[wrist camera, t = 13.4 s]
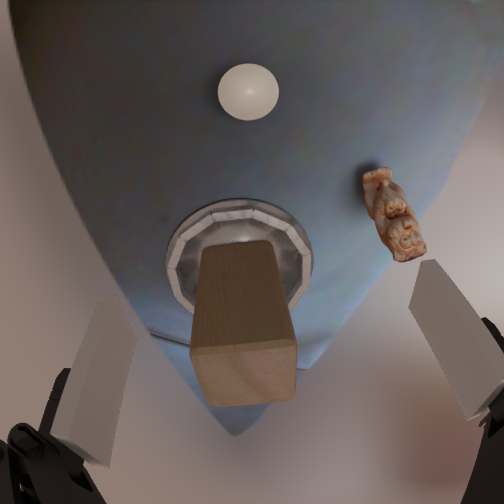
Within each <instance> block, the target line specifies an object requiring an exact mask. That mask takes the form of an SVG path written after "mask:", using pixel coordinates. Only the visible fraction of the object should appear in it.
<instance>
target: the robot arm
mask: <svg viewBox="0 0 504 504" xmlns="http://www.w3.org/2000/svg"><path fill="white" fill-rule="evenodd" d="M409 309H410V311H411V313H412V314H413V316H414V318H415V319H416V321H417V323H418V325H419V327H420V328H421V330H422V332H423V334H424V335H425V337H426V339H427V341H428V343H429V345H430V346H431V348H432V350H433V352H434V354H435V356H436V358H437V360H438V362H439V364H440V365H441V368H442V370H443V371H444V373H445V375H446V378H447V379H448V382H449V383H450V385H451V388H452V390H453V392H454V394H455V396H456V398H457V400H458V403H459V405H460V407H461V409H462V411H463V414H464V416H465V418H466V420H467V421H468V420H471V419H473V418H475V417H477V416H479V415H481V414H482V413H483V412H484V410H486V408H487V407H489V409H490V412H489V413H488V414H487V416H486V417H485V418H484V419H483V420H482V421H481V422H480V424H479V427H481V426H482V425H483V424H484V423H485V422H486V425H485V426H484V428H485V429H484V433H483V437H482V441H481V445H480V449H479V452H478V455H477V459H476V462H475V465H474V468H473V472H472V474H471V477H470V480H469V483H468V486H467V489H466V491H465V494H464V496H463V499H462V501H461V504H504V338H503V336H501V333H500V332H499V330H498V329H497V328H496V326H495V324H493V323H492V322H491V321H490V320H488V319H487V318H486V317H484V318H480V317H479V316H478V314H477V313H476V311H475V310H474V309H473V307H472V306H471V305H470V303H469V302H468V301H467V300H466V298H465V297H464V295H463V294H462V293H461V291H460V290H459V289H458V287H457V286H456V285H455V283H454V282H453V281H452V280H451V278H450V277H449V276H448V275H447V273H446V272H445V271H444V270H443V269H442V267H441V266H440V265H439V264H438V262H437V261H436V260H435V259H432V260H426V261H421V264H420V268H419V272H418V276H417V280H416V283H415V287H414V291H413V294H412V298H411V301H410V304H409ZM136 341H137V338H136V336H135V334H134V332H133V329H132V327H131V325H130V323H129V321H128V319H127V317H126V315H125V313H124V311H123V309H122V306H121V304H120V302H119V300H118V298H117V295H111V296H101V298H100V300H99V302H98V305H97V307H96V309H95V311H94V314H93V316H92V318H91V321H90V323H89V325H88V328H87V330H86V332H85V335H84V337H83V340H82V342H81V345H80V347H79V350H78V352H77V355H76V357H75V360H74V363H73V365H72V368H64V369H63V370H62V372H61V373H60V374H59V375H58V376H57V378H56V380H55V383H54V386H53V391H51V394H50V397H49V400H48V402H47V405H46V408H45V411H44V415H43V418H42V421H41V424H40V427H39V430H38V432H37V431H36V430H35V429H34V428H33V427H31V426H30V425H28V424H27V423H19V424H16V425H15V426H14V427H13V428H12V429H11V431H10V433H9V435H8V439H7V441H8V444H6V443H5V442H4V441H2V440H0V504H106V502H105V501H104V499H103V497H102V496H101V494H100V492H99V491H98V489H97V487H96V486H95V484H94V482H93V481H92V479H91V477H90V475H89V473H88V471H87V470H86V469H85V467H84V466H83V463H84V460H85V461H87V462H88V463H90V464H91V465H94V466H99V467H104V468H109V467H110V461H111V455H112V449H113V443H114V438H115V433H116V427H117V422H118V417H119V413H120V408H121V403H122V399H123V394H124V390H125V385H126V381H127V377H128V373H129V368H130V364H131V361H132V356H133V353H134V349H135V345H136ZM20 484H21V489H20Z"/></svg>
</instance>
